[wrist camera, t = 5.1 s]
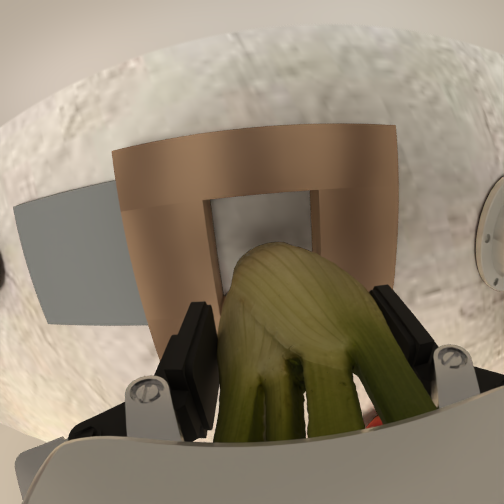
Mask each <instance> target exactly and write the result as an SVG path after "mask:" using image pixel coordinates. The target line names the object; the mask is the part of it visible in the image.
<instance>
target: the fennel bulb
mask: <svg viewBox="0 0 504 504" xmlns="http://www.w3.org/2000/svg"><path fill="white" fill-rule="evenodd" d="M217 336H218V342H217V362H218V370H219V382H220V396H219V413H218V419H217V424H216V429H215V434H214V439H213V443H249V442H270V441H284V440H295V439H304V438H306V431H305V427H306V424H305V420H304V401H305V399H304V395H303V394H304V393H305V391H306V398H307V411H308V414H309V415H308V419H309V422H308V427H307V435H308V438H313V437H320V436H327V435H334V434H340V433H346V432H351V431H357V430H362V429H365V424H364V422H363V417H362V412H361V408H360V402H359V399H358V394H357V391H356V385H355V383H354V382H353V373H354V374H355V375H357V376H358V377H359V379H360V381H361V382H362V384H363V386H364V388H365V390H366V392H367V394H368V396H369V398H370V400H371V402H372V403H373V405H374V408H375V410H376V412H377V413H378V415H379V417H380V419H381V421H382V424H383V425H384V424H388V423H392V422H396V421H400V420H404V419H407V418H411V417H414V416H418V415H421V414H424V413H427V412H431V411H434V410H437V409H438V408H437V407H436V405H435V404H434V402H433V401H432V399H431V397H430V396H429V394H428V393H427V391H426V390H425V388H424V386H423V384H422V383H421V381H420V380H419V379H418V377H417V376H416V374H415V373H414V371H413V369H412V368H411V366H410V365H409V363H408V361H407V360H406V358H405V356H404V354H403V352H402V350H401V348H400V347H399V345H398V344H397V342H396V340H395V338H394V336H393V335H392V333H391V331H390V328H389V326H388V325H387V323H386V320H385V318H384V316H383V314H382V311H381V310H380V309H379V307H378V305H377V303H376V301H375V300H374V299H373V297H372V296H371V295H370V294H369V292H368V291H367V289H366V288H365V287H364V286H363V285H362V284H361V283H360V282H358V281H357V280H356V279H355V278H354V277H353V276H351V275H350V274H349V273H348V272H346V271H344V270H343V269H342V268H340V267H339V266H337V265H336V264H335V263H333V262H331V261H329V260H328V259H326V258H324V257H322V256H320V255H319V254H317V253H315V252H311V251H309V250H306V249H303V248H301V247H296V246H292V245H290V244H287V243H285V242H271V243H266V244H263V245H260V246H257V247H255V248H253V249H251V250H250V251H248V252H247V253H246V254H244V255H243V256H242V257H241V258H240V259H239V260H238V262H237V264H236V266H235V268H234V272H233V278H232V283H231V287H230V290H229V291H228V293H227V295H226V299H225V301H224V305H223V308H222V313H221V317H220V321H219V327H218V334H217Z"/></svg>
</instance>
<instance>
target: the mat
mask: <svg viewBox="0 0 504 504" xmlns="http://www.w3.org/2000/svg"><path fill="white" fill-rule="evenodd" d="M13 210H14V215H15V220H16V224H17V229H18V233H19V237H20V241H21V245H22V249H23V253H24V256H25V260H26V263H27V266H28V270H29V273H30V276H31V279H32V282H33V285H34V288H35V291H36V294H37V297H38V299H39V302H40V305H41V307H42V310H43V313H44V315H45V318H46V320H47V322H48V324H59V325H100V326H130V325H148V322H147V319H146V316H145V312H144V309H143V305H142V302H141V298H140V295H139V291H138V287H137V283H136V279H135V275H134V271H133V267H132V263H131V259H130V255H129V250H128V246H127V241H126V236H125V231H124V226H123V221H122V216H121V211H120V205H119V199H118V193H117V187H116V180H115V181H110V182H105V183H101V184H96V185H92V186H88V187H83V188H79V189H75V190H71V191H67V192H63V193H59V194H56V195H52V196H48V197H45V198H41V199H38V200H34V201H31V202H27V203H24V204H21V205H18V206H15V207H13Z"/></svg>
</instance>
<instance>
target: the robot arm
mask: <svg viewBox="0 0 504 504" xmlns="http://www.w3.org/2000/svg"><path fill="white" fill-rule="evenodd" d="M476 261H477V266H478V271H479V273H480V276H481V278H482V279H483V281H484V282H485V283H486V284H487V285H488V286H489V287H491V288H492V289H494V290H496V291H504V176H503V177H502V178H501V179H500V180H499V181H498V182H497V183H496V184H495V186H494V187H493V189H492V190H491V192H490V194H489V196H488V198H487V200H486V202H485V205H484V208H483V210H482V213H481V217H480V221H479V225H478V231H477V238H476ZM369 294H370V295H371V296H372V297H373V299H374V300H375V301H376V303H377V305H378V307H379V309H380V310H381V311H382V314H383V316H384V318H385V320H386V323H387V325H388V326H389V328H390V331H391V333H392V335H393V336H394V338H395V340H396V342H397V344H398V345H399V347H400V348H401V350H402V352H403V354H404V356H405V358H406V360H407V361H408V363H409V365H410V366H411V368H412V369H413V371H414V373H415V374H416V376H417V377H418V379H419V380H420V381H421V383H422V384H423V386H424V388H425V390H426V391H427V393H428V394H429V396H430V397H431V399H432V401H433V402H434V404H435V405H436V407H437V408H438V409H437V410H434V411H431V412H427V413H424V414H421V415H418V416H414V417H411V418H407V419H404V420H400V421H396V422H392V423H388V424H384V425H380V426H375V427H371V428H366V429H362V430H357V431H351V432H346V433H340V434H334V435H327V436H320V437H313V438H304V439H295V440H284V441H270V442H249V443H207V442H193V441H195V440H196V439H198V438H206V436H207V430H212V429H213V423H214V416H215V410H216V403H217V396H218V390H219V384H220V382H219V370H218V362H217V342H218V336H217V331H216V326H215V321H214V315H213V310H212V306H211V305H207V303H206V302H205V301H202V302H191V303H190V306H189V308H188V310H187V313H186V315H185V318H184V320H183V323H182V325H181V327H180V330H179V332H178V335H172V336H171V337H170V339H169V342H168V344H167V346H166V349H165V351H164V353H163V356H162V358H161V360H160V363H159V365H158V368H157V370H156V372H155V375H154V376H152V375H151V376H144V377H140V378H138V379H136V380H134V381H133V382H132V383H130V384H129V385H128V387H127V389H126V392H125V402H124V403H121V404H119V405H117V406H115V407H113V408H111V409H109V410H107V411H105V412H103V413H101V414H99V415H96V416H94V417H92V418H90V419H88V420H86V421H83V422H81V423H79V424H78V425H76V426H75V427H74V428H73V429H72V430H71V432H70V434H69V437H68V438H67V439H65V438H64V437H60V438H58V439H55V440H53V441H50V442H48V443H45V444H43V445H40V446H38V447H35V448H32V449H29V450H27V451H25V452H22V453H21V454H20V455H19V456H18V457H17V458H16V461H15V471H16V475H17V480H18V484H19V488H20V491H21V495H22V499H23V502H22V504H504V375H503V374H499V373H496V372H492V371H488V370H485V369H481V368H478V367H474V366H473V362H472V359H471V356H470V354H469V353H468V352H467V351H466V350H465V349H464V348H462V347H460V346H457V345H451V344H449V345H443V346H440V347H438V345H437V344H436V343H435V342H434V340H433V338H432V337H431V336H430V334H429V333H428V332H427V331H426V329H425V328H424V327H423V326H422V324H421V323H420V322H419V321H418V319H417V318H416V317H415V316H414V314H413V313H412V312H411V311H410V310H409V308H408V307H407V306H406V305H405V304H404V302H403V301H402V300H401V299H400V298H399V296H398V295H397V294H396V293H395V292H394V291H393V289H392V288H391V287H390V286H389V285H388V284H387V285H379V286H374V288H373V290H370V291H369Z"/></svg>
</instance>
